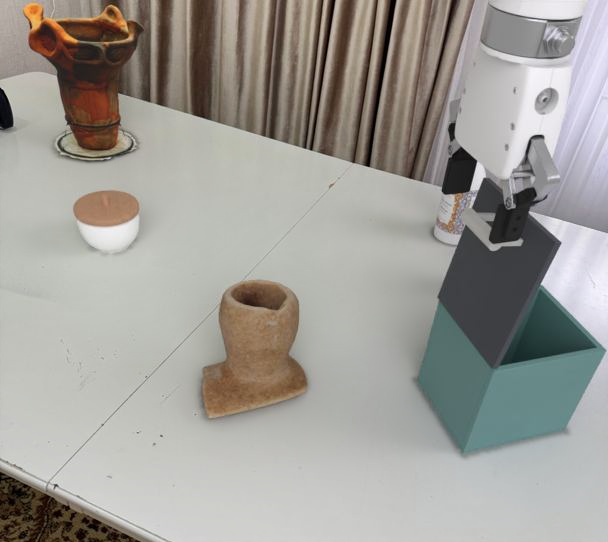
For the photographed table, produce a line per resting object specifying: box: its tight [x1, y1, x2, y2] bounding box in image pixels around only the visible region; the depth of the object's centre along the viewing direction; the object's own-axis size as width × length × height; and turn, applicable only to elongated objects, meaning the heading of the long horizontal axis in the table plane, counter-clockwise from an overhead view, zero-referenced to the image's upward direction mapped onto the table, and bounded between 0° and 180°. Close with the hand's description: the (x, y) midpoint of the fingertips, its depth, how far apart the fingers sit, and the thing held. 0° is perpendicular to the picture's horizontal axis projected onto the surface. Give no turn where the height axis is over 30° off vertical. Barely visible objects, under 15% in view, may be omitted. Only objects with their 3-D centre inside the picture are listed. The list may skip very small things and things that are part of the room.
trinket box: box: [72, 189, 141, 254], centre depth 107 cm, size 11×11×9 cm
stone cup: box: [201, 279, 309, 419], centre depth 81 cm, size 15×12×15 cm
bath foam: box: [433, 161, 487, 246], centre depth 113 cm, size 7×7×20 cm
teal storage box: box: [417, 284, 607, 454], centre depth 82 cm, size 16×14×15 cm
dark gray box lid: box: [436, 177, 563, 369], centre depth 68 cm, size 16×14×5 cm
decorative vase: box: [22, 2, 145, 161], centre depth 130 cm, size 21×23×28 cm
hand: (478, 215), depth 63 cm, fingers open, 9 cm apart
